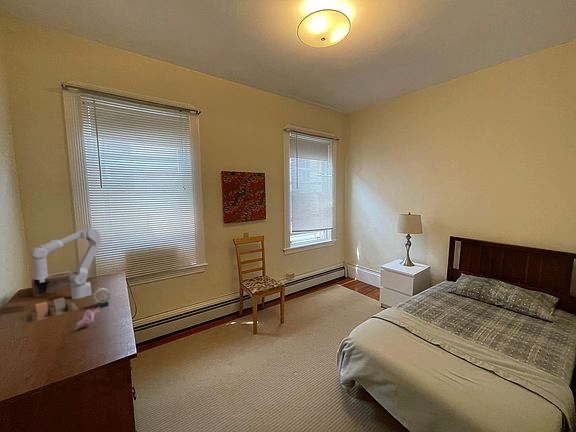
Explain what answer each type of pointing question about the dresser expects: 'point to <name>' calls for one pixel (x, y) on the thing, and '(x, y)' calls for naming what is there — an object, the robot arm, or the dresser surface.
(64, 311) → the cable comb
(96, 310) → the lily
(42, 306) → the terracotta plug
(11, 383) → the dresser surface
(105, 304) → the watch
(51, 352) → the dresser surface
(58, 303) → the grey plug
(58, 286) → the tissue box cover
